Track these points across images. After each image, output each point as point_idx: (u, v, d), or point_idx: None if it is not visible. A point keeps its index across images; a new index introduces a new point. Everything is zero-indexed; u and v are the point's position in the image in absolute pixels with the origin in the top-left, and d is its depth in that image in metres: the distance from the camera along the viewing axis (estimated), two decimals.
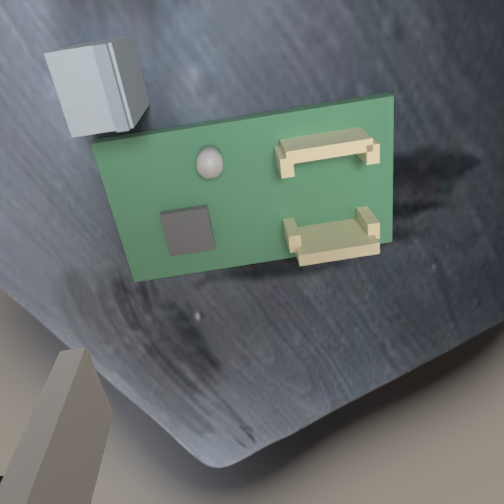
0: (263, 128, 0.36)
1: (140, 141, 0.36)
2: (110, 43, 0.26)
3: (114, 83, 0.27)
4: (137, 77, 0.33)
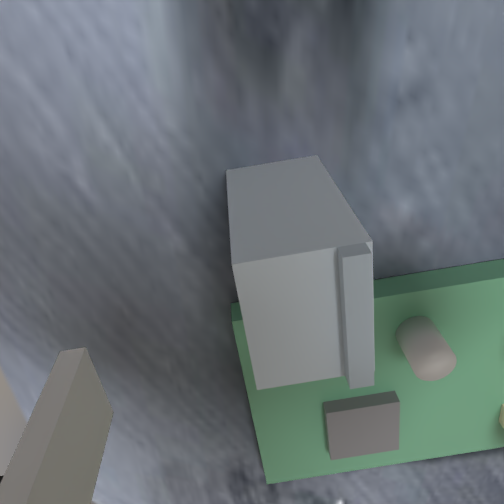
0: None
1: None
2: (369, 242, 0.13)
3: (368, 316, 0.13)
4: None
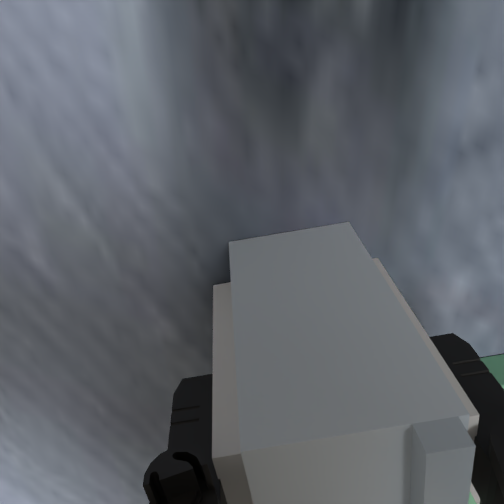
0: None
1: None
2: (463, 415, 0.08)
3: None
4: None
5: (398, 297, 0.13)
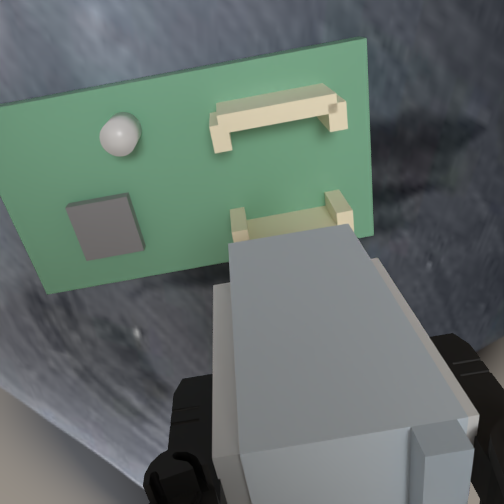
0: (193, 88, 0.27)
1: (28, 109, 0.27)
2: (462, 417, 0.08)
3: None
4: None
5: (398, 297, 0.13)
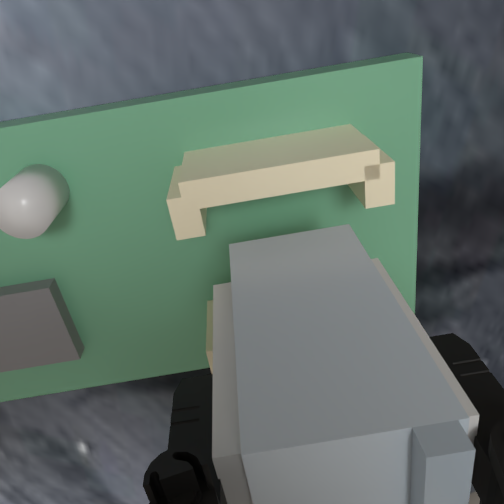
0: (148, 129, 0.17)
1: None
2: (464, 418, 0.08)
3: None
4: None
5: (398, 297, 0.13)
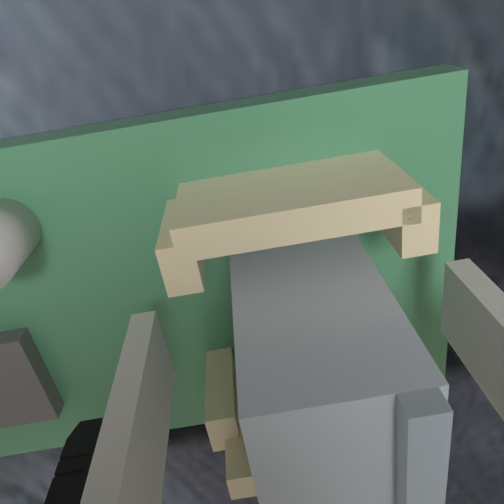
0: (135, 157, 0.14)
1: None
2: (443, 385, 0.09)
3: (440, 488, 0.09)
4: None
5: None
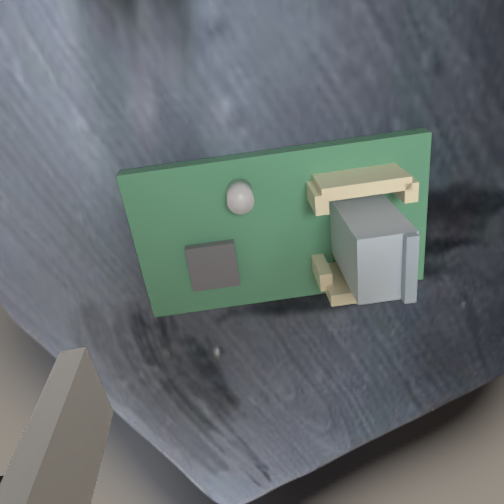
0: (296, 163, 0.34)
1: (167, 174, 0.34)
2: (417, 231, 0.29)
3: (416, 265, 0.29)
4: None
5: None
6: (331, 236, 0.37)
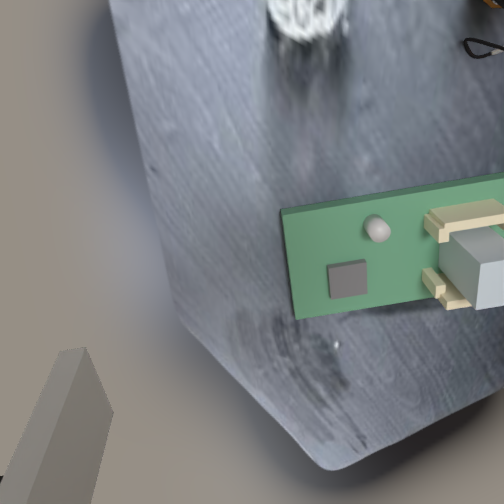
0: (418, 201, 0.45)
1: (321, 212, 0.45)
2: None
3: None
4: None
5: None
6: (439, 254, 0.48)
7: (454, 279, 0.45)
